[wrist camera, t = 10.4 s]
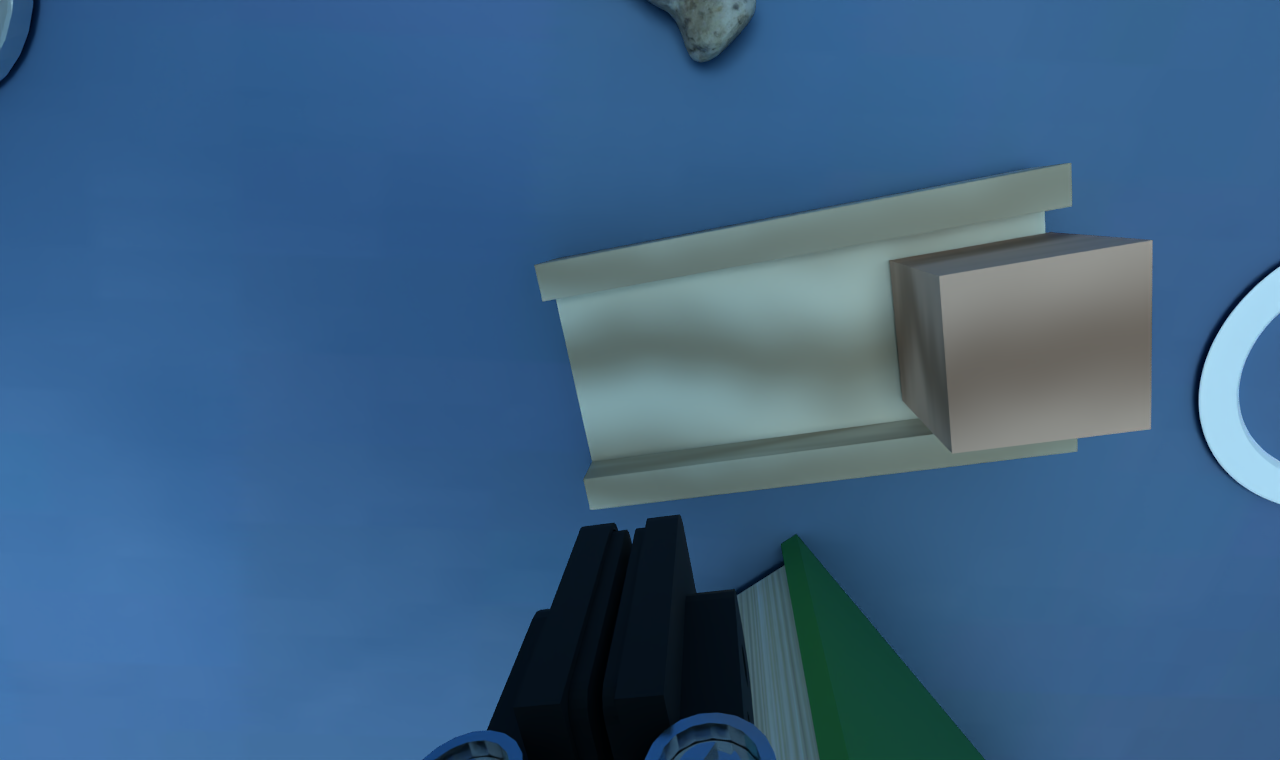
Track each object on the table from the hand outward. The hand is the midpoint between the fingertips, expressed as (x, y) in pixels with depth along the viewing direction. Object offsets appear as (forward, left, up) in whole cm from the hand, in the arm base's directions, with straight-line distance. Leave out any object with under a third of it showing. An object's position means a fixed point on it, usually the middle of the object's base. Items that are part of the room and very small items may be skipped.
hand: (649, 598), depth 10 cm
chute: (0, +4, -19) cm, 19 cm away
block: (0, +11, -18) cm, 21 cm away
